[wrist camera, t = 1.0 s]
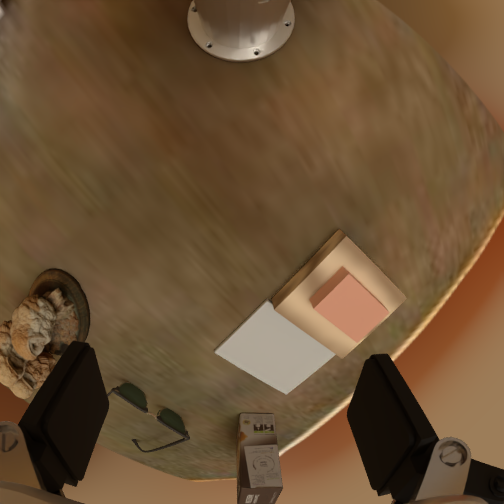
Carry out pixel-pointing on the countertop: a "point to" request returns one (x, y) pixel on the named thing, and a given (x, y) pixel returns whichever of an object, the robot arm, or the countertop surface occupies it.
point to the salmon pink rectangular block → (348, 305)
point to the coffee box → (257, 460)
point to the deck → (316, 275)
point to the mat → (274, 349)
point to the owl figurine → (42, 331)
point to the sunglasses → (165, 415)
